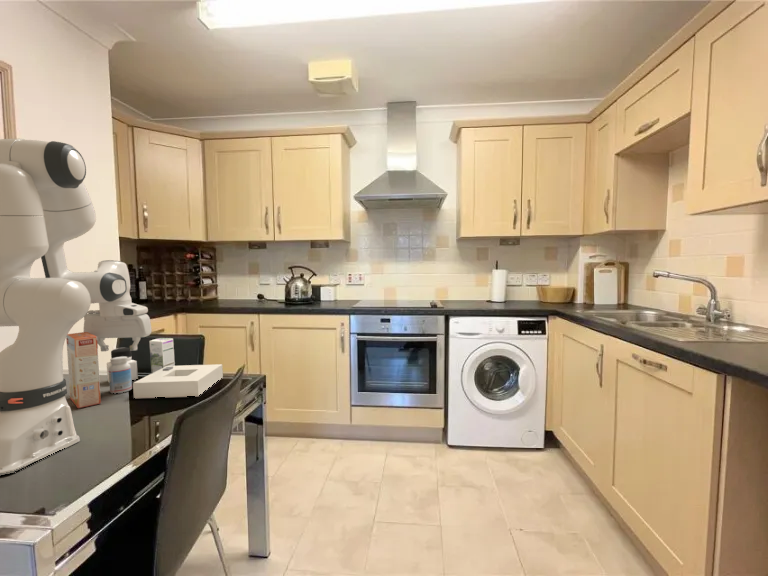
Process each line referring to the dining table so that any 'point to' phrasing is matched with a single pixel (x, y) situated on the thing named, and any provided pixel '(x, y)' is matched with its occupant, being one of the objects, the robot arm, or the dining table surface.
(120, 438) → the dining table surface
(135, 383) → the socket block
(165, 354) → the syrup box
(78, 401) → the cracker box
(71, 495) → the dining table surface
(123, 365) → the pill bottle
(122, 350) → the medicine bottle
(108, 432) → the dining table surface
